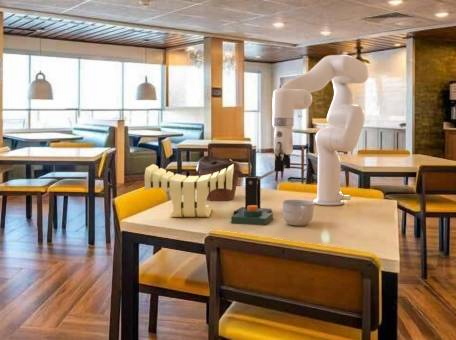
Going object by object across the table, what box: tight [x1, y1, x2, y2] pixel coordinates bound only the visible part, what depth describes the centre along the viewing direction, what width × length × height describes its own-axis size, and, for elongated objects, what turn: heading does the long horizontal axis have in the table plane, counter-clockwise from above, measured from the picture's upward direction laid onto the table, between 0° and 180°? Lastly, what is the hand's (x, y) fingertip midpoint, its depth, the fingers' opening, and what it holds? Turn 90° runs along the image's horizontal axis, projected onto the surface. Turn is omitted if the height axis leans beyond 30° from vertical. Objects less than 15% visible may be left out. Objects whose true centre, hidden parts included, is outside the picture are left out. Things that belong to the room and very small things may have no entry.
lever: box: [255, 164, 287, 183], centre depth 199 cm, size 15×5×2 cm, turn 76°
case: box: [196, 155, 244, 202], centre depth 230 cm, size 18×20×18 cm
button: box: [247, 205, 258, 211], centre depth 188 cm, size 4×4×2 cm
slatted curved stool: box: [144, 163, 234, 218], centre depth 197 cm, size 30×16×18 cm, turn 96°
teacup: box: [282, 199, 315, 227], centre depth 182 cm, size 14×11×8 cm
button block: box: [230, 208, 274, 226], centre depth 188 cm, size 12×10×4 cm
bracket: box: [233, 175, 273, 216], centre depth 201 cm, size 12×9×14 cm
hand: (282, 169), depth 197 cm, fingers open, 9 cm apart
